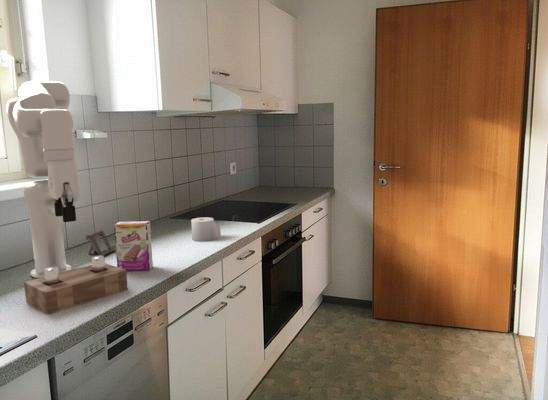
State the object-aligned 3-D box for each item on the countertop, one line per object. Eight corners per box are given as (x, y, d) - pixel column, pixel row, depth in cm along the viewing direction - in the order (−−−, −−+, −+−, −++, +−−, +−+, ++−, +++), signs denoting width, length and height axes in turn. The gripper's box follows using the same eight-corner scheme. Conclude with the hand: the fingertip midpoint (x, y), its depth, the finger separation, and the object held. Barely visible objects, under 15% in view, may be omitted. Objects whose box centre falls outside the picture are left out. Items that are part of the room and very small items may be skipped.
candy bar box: (117, 271, 164) (113, 224, 161) (121, 267, 168) (117, 221, 166) (150, 270, 164) (146, 223, 161) (153, 266, 169) (150, 220, 166)
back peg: (90, 275, 146) (89, 257, 145) (101, 272, 149) (100, 254, 148) (96, 277, 144) (95, 259, 143) (107, 274, 146) (106, 256, 146)
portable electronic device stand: (103, 257, 182) (101, 235, 181) (84, 256, 184) (82, 235, 183) (115, 251, 191) (114, 230, 189) (98, 250, 193) (96, 229, 191)
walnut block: (26, 302, 138) (23, 282, 137) (103, 280, 155) (102, 262, 154) (48, 314, 128) (45, 292, 127) (127, 289, 146) (126, 270, 145)
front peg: (43, 287, 136) (41, 269, 135) (56, 284, 138) (54, 265, 138) (49, 290, 133) (47, 271, 133) (62, 287, 136) (60, 268, 135)
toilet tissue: (225, 236, 209) (224, 217, 207) (200, 243, 200) (199, 222, 198) (212, 233, 215) (211, 215, 214) (188, 239, 206) (187, 219, 204)
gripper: (38, 155, 134) (44, 215, 137) (50, 158, 120) (57, 226, 123) (67, 153, 138) (72, 212, 141) (82, 156, 124) (88, 221, 127)
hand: (65, 218), depth 132 cm, fingers open, 9 cm apart
